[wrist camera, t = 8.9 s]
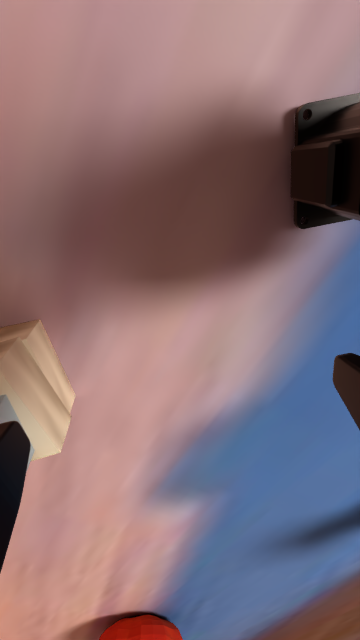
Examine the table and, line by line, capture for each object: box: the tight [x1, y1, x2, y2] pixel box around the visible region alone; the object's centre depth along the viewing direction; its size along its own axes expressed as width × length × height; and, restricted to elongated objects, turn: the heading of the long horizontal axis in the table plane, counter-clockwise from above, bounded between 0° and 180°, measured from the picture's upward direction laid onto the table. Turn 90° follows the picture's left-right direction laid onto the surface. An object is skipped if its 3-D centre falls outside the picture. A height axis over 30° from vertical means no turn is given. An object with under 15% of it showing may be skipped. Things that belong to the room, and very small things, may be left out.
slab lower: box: [0, 319, 75, 413], centre depth 21 cm, size 7×7×3 cm
